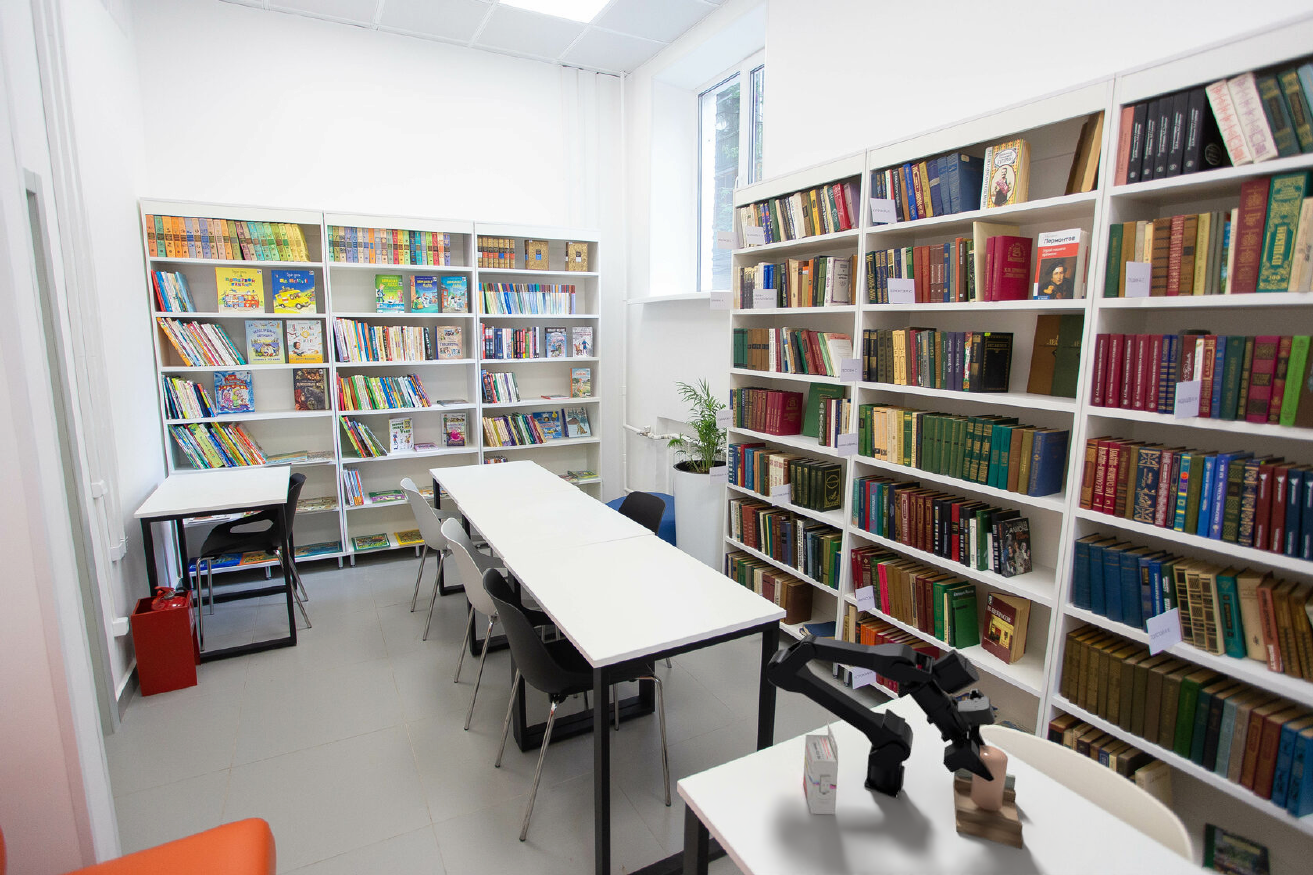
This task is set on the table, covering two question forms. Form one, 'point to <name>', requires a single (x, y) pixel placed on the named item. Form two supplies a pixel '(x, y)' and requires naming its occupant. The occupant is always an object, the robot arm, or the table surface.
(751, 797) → the table surface
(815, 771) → the ink cartridge box
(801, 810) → the table surface
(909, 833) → the table surface
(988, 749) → the peach pink cylinder
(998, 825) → the walnut shelf
